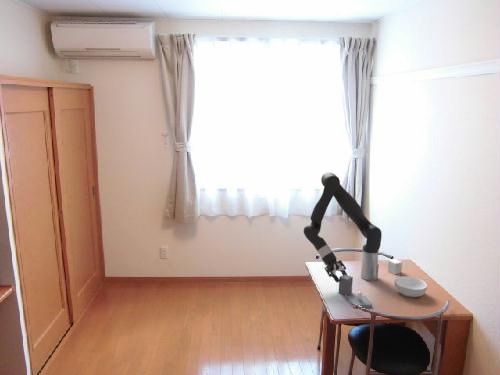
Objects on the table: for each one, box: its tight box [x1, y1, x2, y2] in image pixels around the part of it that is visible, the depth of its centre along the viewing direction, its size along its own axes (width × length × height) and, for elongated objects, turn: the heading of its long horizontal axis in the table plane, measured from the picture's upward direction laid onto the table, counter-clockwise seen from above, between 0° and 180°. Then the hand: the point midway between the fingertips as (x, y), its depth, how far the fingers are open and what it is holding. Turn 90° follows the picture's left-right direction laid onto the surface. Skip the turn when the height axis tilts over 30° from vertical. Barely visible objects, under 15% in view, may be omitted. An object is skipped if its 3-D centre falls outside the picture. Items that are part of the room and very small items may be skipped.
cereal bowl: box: [394, 275, 428, 298], centre depth 223 cm, size 17×17×7 cm
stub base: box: [346, 291, 373, 309], centre depth 212 cm, size 10×10×6 cm
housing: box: [338, 274, 354, 297], centre depth 223 cm, size 5×5×10 cm
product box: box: [387, 258, 403, 275], centre depth 254 cm, size 6×6×7 cm
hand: (342, 279), depth 224 cm, fingers open, 8 cm apart
